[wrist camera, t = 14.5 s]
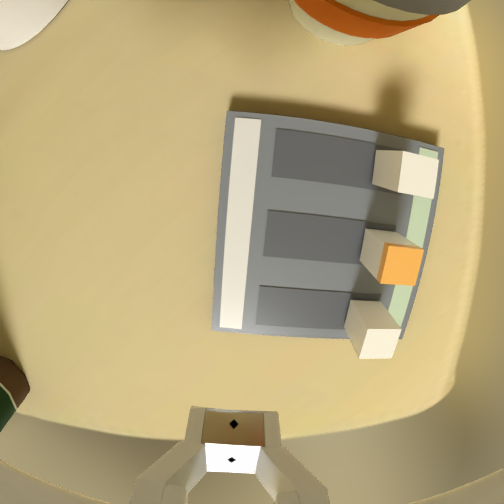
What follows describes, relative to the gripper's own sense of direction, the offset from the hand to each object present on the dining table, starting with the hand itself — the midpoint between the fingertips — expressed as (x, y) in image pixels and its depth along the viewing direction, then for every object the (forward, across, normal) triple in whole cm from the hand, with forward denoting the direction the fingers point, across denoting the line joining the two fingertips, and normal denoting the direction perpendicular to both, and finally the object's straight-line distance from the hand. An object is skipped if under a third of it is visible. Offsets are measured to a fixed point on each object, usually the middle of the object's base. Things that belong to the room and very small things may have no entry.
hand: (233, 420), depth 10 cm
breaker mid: (+17, -11, -2) cm, 20 cm away
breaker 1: (+16, -11, +5) cm, 21 cm away
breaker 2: (+17, -12, -8) cm, 22 cm away
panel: (+19, -7, -2) cm, 20 cm away
